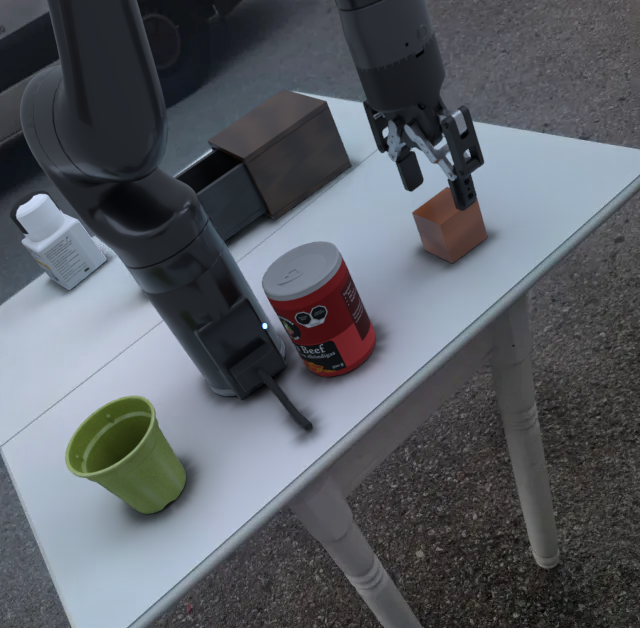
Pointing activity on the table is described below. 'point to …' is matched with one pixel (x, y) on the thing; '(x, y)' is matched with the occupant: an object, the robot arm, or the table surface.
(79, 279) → the container
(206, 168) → the drawer
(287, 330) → the canned food
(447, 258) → the block
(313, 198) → the table surface
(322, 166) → the cabinet
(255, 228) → the table surface
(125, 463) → the plant pot
